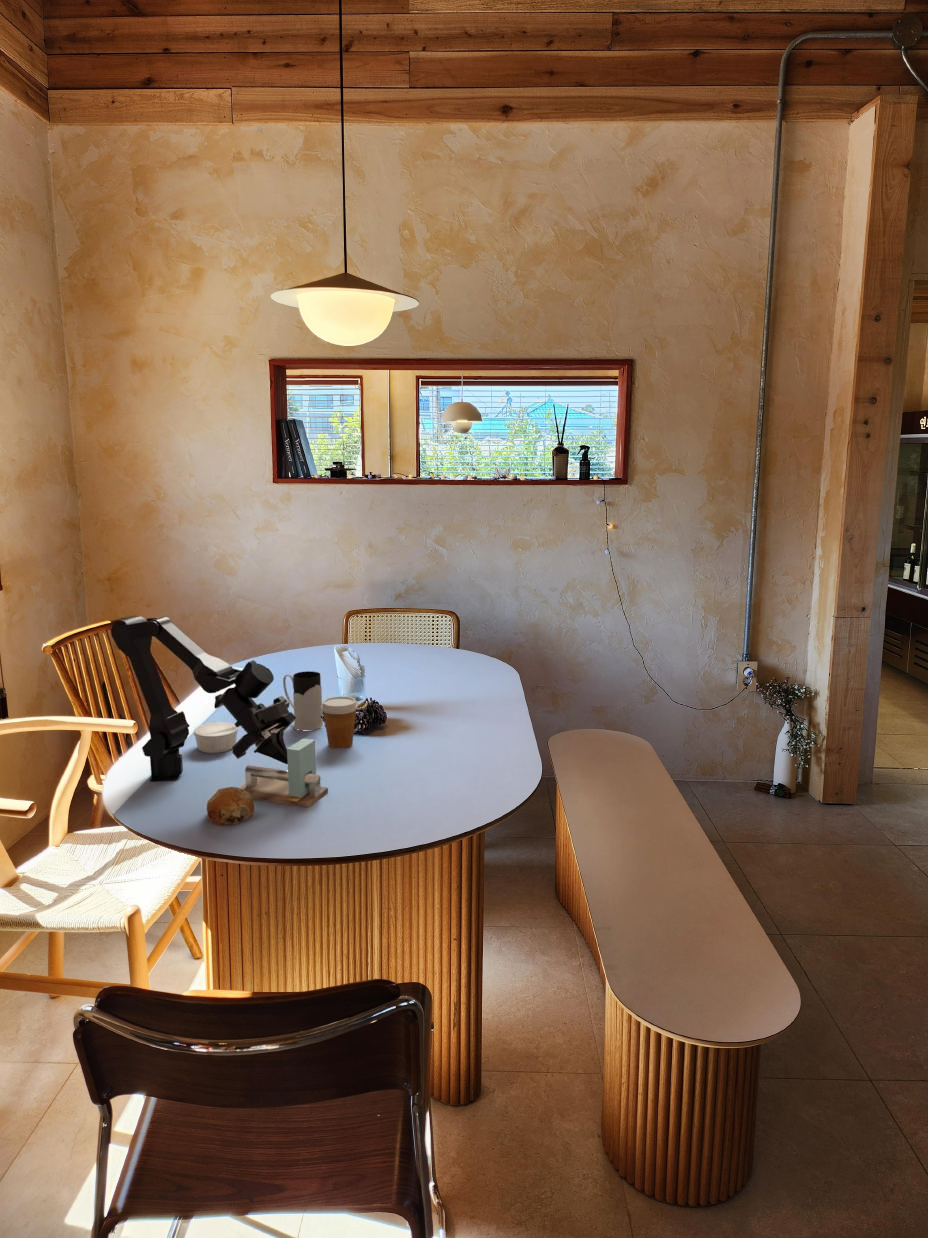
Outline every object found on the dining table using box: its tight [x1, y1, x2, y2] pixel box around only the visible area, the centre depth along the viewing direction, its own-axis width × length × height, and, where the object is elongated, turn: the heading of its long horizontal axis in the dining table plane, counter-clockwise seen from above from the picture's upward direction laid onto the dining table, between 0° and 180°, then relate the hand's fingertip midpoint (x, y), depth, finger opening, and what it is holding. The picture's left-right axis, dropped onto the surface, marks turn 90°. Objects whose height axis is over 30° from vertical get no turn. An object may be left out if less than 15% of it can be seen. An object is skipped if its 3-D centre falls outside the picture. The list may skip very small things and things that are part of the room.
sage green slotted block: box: [287, 738, 317, 798], centre depth 186 cm, size 3×7×11 cm, turn 161°
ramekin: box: [193, 721, 239, 754], centre depth 218 cm, size 11×11×5 cm
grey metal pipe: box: [244, 764, 322, 797], centre depth 188 cm, size 18×3×5 cm, turn 71°
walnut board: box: [239, 777, 329, 808], centre depth 189 cm, size 19×9×1 cm, turn 71°
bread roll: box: [206, 786, 255, 826], centre depth 177 cm, size 10×10×8 cm
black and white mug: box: [282, 670, 324, 731], centre depth 235 cm, size 9×14×15 cm, turn 53°
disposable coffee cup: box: [321, 696, 358, 750], centre depth 219 cm, size 10×10×12 cm
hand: (289, 762), depth 187 cm, fingers closed
